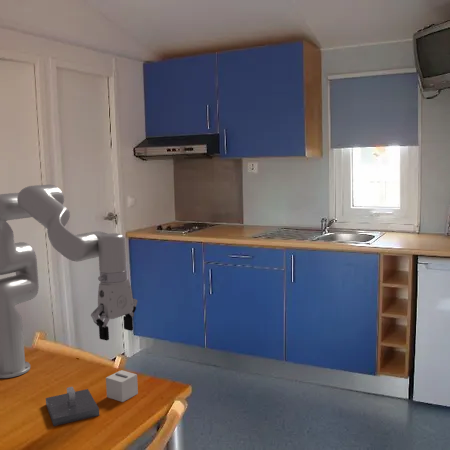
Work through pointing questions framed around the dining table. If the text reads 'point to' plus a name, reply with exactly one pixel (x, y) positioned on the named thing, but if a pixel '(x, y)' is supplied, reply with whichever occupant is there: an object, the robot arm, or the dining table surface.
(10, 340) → the robot arm
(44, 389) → the dining table surface
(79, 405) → the plate
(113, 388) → the knob
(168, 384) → the dining table surface
